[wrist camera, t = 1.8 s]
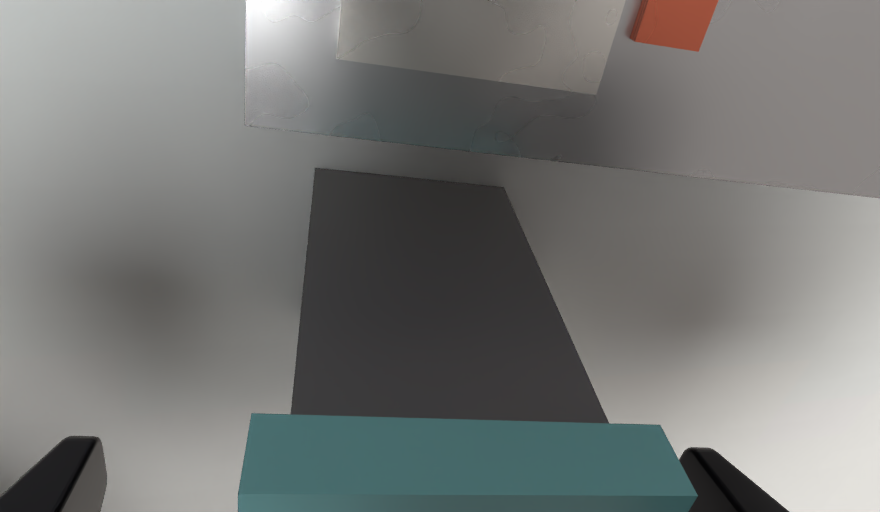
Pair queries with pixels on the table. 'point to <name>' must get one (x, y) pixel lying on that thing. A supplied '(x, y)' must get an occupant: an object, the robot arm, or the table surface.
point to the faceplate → (586, 82)
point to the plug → (441, 372)
